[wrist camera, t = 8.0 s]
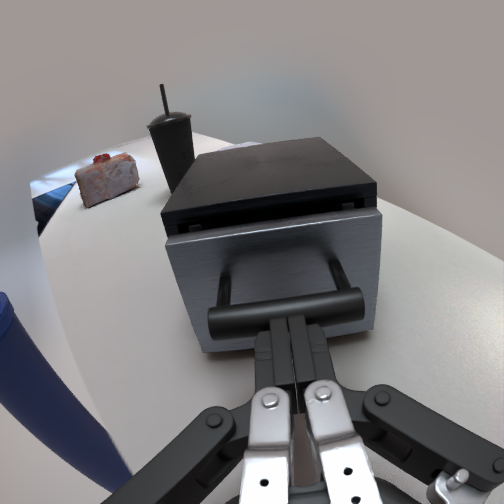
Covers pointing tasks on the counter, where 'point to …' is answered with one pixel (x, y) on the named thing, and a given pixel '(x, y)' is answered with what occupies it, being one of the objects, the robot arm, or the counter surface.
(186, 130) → the drinking cup
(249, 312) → the drawer
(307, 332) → the robot arm
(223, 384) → the counter surface
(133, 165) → the food item
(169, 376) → the counter surface
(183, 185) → the cabinet
